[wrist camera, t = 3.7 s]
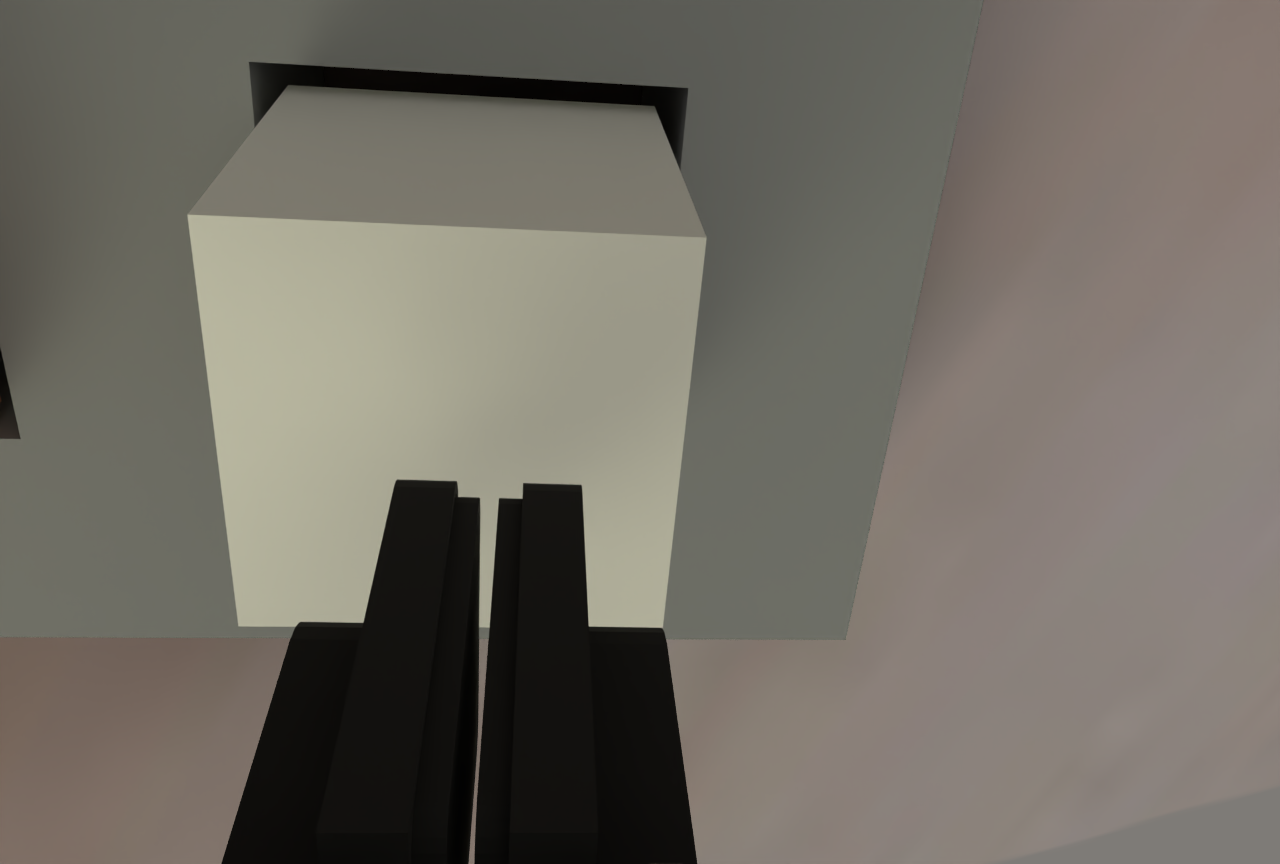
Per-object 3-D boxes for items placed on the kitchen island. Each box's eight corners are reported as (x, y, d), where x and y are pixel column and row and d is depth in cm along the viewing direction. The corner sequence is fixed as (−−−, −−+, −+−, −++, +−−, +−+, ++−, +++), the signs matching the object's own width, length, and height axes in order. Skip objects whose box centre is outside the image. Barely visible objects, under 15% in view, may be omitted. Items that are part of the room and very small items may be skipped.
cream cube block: (288, 84, 16) (187, 214, 11) (654, 106, 16) (706, 237, 12) (312, 408, 18) (238, 626, 14) (628, 417, 19) (662, 628, 14)
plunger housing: (-662, -359, 17) (-1190, -422, 12) (896, -215, 20) (1029, -212, 14) (-336, 449, 24) (-576, 635, 19) (782, 471, 26) (845, 639, 21)
